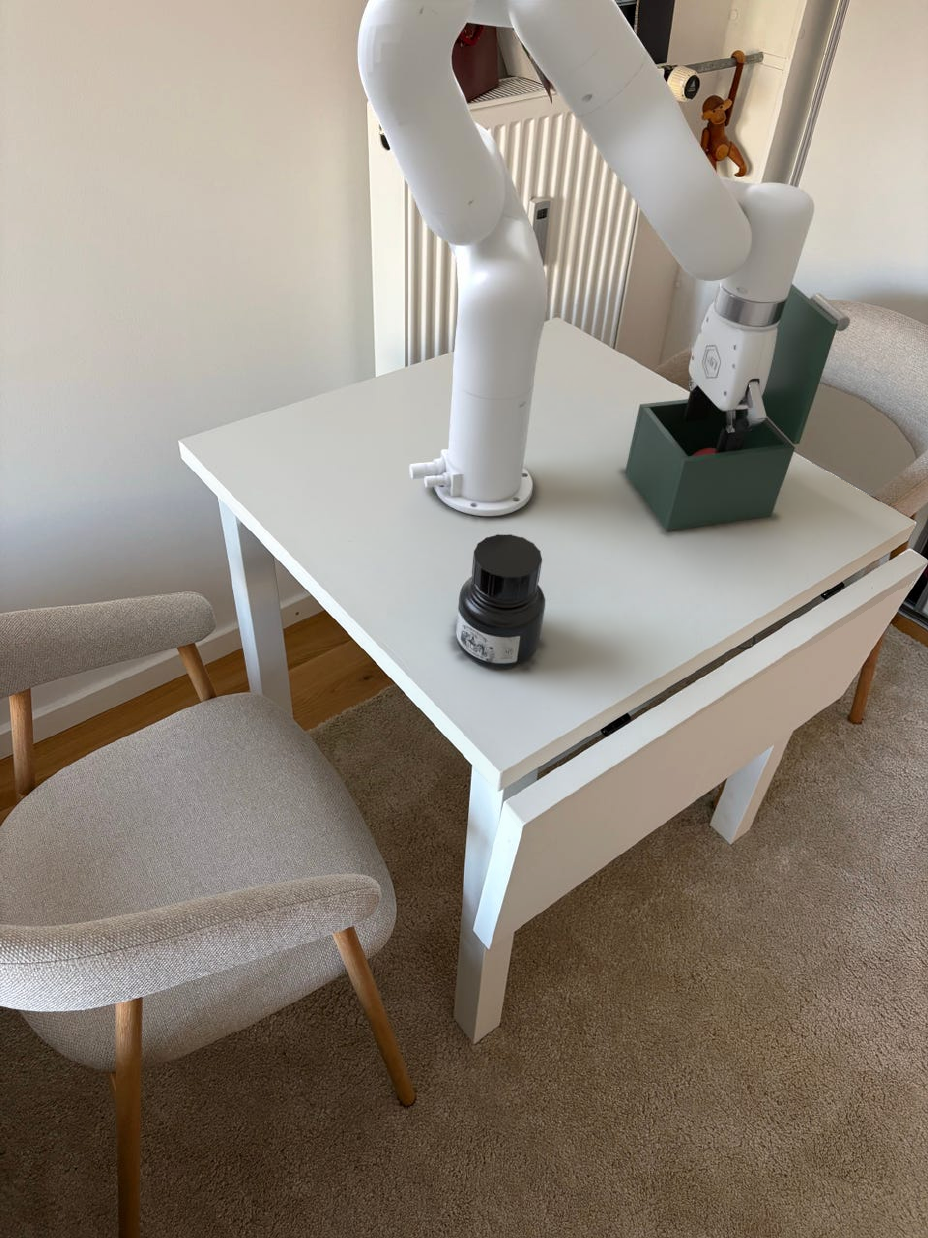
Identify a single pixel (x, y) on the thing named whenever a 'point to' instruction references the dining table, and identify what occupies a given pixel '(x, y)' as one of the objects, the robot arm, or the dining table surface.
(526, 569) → the ink bottle
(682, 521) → the bin
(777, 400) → the bin lid
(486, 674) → the dining table surface
